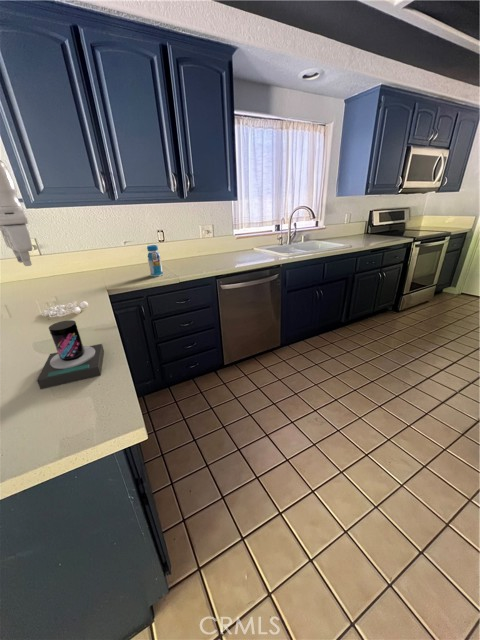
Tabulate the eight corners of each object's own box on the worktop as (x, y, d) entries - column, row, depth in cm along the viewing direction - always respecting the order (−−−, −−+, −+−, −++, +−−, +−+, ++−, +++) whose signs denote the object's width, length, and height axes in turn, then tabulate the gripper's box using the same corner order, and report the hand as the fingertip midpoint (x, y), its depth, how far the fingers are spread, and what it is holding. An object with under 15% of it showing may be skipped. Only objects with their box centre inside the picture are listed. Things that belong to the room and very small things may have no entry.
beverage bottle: (148, 276, 182) (142, 246, 174) (155, 273, 189) (150, 244, 181) (159, 276, 179) (153, 246, 171) (165, 273, 187) (161, 244, 178)
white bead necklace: (33, 322, 118) (29, 314, 116) (55, 307, 131) (51, 300, 129) (74, 320, 116) (70, 312, 114) (92, 306, 129) (89, 298, 127)
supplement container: (54, 361, 78) (42, 329, 74) (71, 349, 84) (60, 319, 80) (74, 362, 77) (63, 330, 73) (90, 350, 83) (80, 320, 79)
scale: (40, 389, 72) (35, 378, 70) (53, 361, 85) (49, 352, 83) (100, 375, 77) (97, 365, 75) (104, 351, 90) (101, 342, 88)
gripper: (-11, 218, 83) (7, 261, 89) (-1, 218, 70) (19, 269, 76) (14, 216, 87) (29, 258, 93) (27, 217, 74) (44, 265, 80)
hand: (24, 263), depth 84 cm, fingers open, 8 cm apart
